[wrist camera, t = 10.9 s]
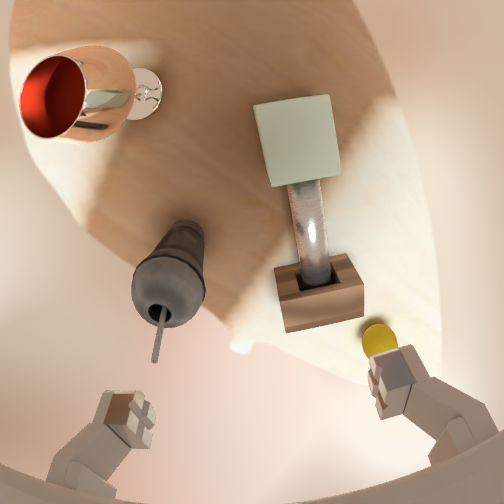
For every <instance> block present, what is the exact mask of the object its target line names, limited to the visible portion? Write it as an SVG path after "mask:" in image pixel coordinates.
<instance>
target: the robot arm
mask: <svg viewBox="0 0 504 504" xmlns="http://www.w3.org/2000/svg"><path fill="white" fill-rule="evenodd" d="M369 364H370V367H371V369H370V370H369V371H368V382H369V387H370V391H371V394H372V396H374V397H375V398H377V399H376V408H377V411H378V414H379V417H380V420H383V419H386V418H390V417H394V416H397V415H400V414H403V415H404V416H405V417H407V418H408V419H409V420H411V421H412V422H413V423H414V424H416V425H417V426H418V427H420V428H421V429H422V430H423V431H425V432H426V433H427V434H429V435H430V436H431V437H432V438H434V439H435V440H436V441H437V442H436V444H435V445H434V447H433V448H432V450H431V452H430V453H429V455H428V457H429V460H430V463H431V466H430V467H428V468H425V469H423V470H420V471H417V472H415V473H412V474H410V475H407V476H404V477H401V478H398V479H395V480H392V481H389V482H386V483H383V484H379V485H376V486H373V487H369V488H365V489H361V490H357V491H354V492H350V493H345V494H341V495H336V496H332V497H327V498H321V499H316V500H310V501H304V502H297V503H290V504H504V430H502V431H500V432H499V431H498V429H497V427H496V425H495V423H494V421H493V419H492V418H491V416H490V414H489V412H488V410H487V408H486V406H485V404H483V403H482V402H480V401H478V400H476V399H474V398H472V397H471V396H469V395H467V394H465V393H463V392H461V391H459V390H457V389H456V388H454V387H452V386H450V385H448V384H447V383H445V382H443V381H441V380H439V379H438V378H436V377H431V378H430V376H429V374H428V372H427V370H426V368H425V367H424V365H423V363H422V361H421V359H420V357H419V356H418V354H417V352H416V350H415V348H414V347H413V346H412V345H411V344H410V345H406V346H403V347H400V348H395V349H392V350H389V351H386V352H382V353H379V354H375V355H372V356H370V358H369ZM144 398H145V395H144V394H143V393H142V392H141V391H113V390H112V391H111V390H108V391H107V390H106V391H105V392H104V393H103V394H102V397H101V399H100V402H99V405H98V408H97V411H96V414H95V417H94V419H93V422H92V423H89V424H88V425H87V426H86V427H85V428H84V429H83V430H81V431H80V432H79V433H78V434H77V435H76V436H75V437H74V438H73V439H72V440H71V441H70V442H68V443H67V444H66V445H65V446H64V447H63V448H62V449H61V450H60V451H59V452H58V453H56V454H55V455H54V457H53V460H52V463H51V466H50V469H49V472H48V476H47V479H46V481H43V480H41V479H37V478H35V477H32V476H29V475H27V474H24V473H21V472H19V471H16V470H14V469H12V468H9V467H7V466H5V465H2V464H0V504H143V503H135V502H129V501H123V500H117V499H115V496H116V488H115V487H114V486H113V485H111V484H110V483H108V482H107V480H108V479H109V477H110V476H111V475H112V473H113V472H114V471H115V470H116V468H117V467H118V466H119V465H120V463H121V462H122V461H123V459H124V458H125V457H126V456H127V454H128V453H129V452H130V450H131V449H130V448H136V449H150V445H151V441H152V433H151V431H150V429H151V428H152V427H153V426H154V425H155V419H156V417H155V410H154V408H153V406H152V405H151V403H149V402H148V401H146V400H144Z"/></svg>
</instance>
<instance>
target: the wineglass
mask: <svg viewBox="0 0 504 504" xmlns="http://www.w3.org/2000/svg"><path fill="white" fill-rule="evenodd" d="M161 98H162V85H161V82H160V80H159V78H158V77H157V75H156V74H155V73H153V72H152V71H150V70H148V69H144V68H135V69H132V67H131V66H130V64H129V62H128V61H127V60H126V59H125V58H124V57H123V56H122V55H121V54H120V53H118V52H117V51H115V50H113V49H110V48H107V47H103V46H85V47H80V48H75V49H71V50H68V51H64V52H61V53H58V54H55V55H52V56H49V57H47V58H45V59H43V60H42V61H40V62H39V63H38V64H36V65H35V66H34V67H33V69H32V70H31V71H30V72H29V74H28V76H27V77H26V79H25V81H24V84H23V86H22V90H21V94H20V114H21V117H22V120H23V123H24V125H25V126H26V128H27V129H28V130H29V131H30V132H31V133H32V134H33V135H35V136H36V137H38V138H42V139H47V140H52V141H57V142H63V143H70V144H88V143H93V142H97V141H99V140H102V139H104V138H106V137H108V136H109V135H111V134H112V133H113V132H115V131H116V130H117V129H118V128H119V127H120V126H121V125H122V124H123V123H124V121H125V120H126V119H129V120H139V119H143V118H145V117H147V116H149V115H150V114H152V113H153V112H154V111H155V110H156V108H157V107H158V105H159V103H160V101H161Z"/></svg>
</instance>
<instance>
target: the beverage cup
mask: <svg viewBox="0 0 504 504" xmlns="http://www.w3.org/2000/svg"><path fill="white" fill-rule="evenodd" d="M203 257H204V234H203V231H202V229H201V228H200V227H199V226H198V225H197V224H196V223H194V222H192V221H187V220H186V221H180V222H178V223H176V224H175V225H174V226H173V227H172V228H171V229H170V230H169V231H168V232H167V233H166V235H165V236H164V237H163V239H162V240H161V241H160V243H159V244H158V245H157V246H156V248H155V249H154V250H153V252H152V253H151V254H150V255H149V256H148V257H147V258H146V259H144V260H143V261H142V262H141V263H140V264H139V265H138V266H137V267H136V270H135V272H134V275H133V281H132V289H131V290H132V292H131V293H132V294H131V295H132V300H133V302H134V305H135V308H136V310H137V311H138V313H139V314H140V315H141V317H142V318H143V319H145V320H146V321H147V322H149V323H150V324H153V325H155V326H158V329H157V333H156V339H155V344H154V348H153V354H152V359H151V362H152V363H157V361H158V356H159V350H160V345H161V339H162V334H163V328H173V327H177V326H180V325H183V324H184V323H186V322H187V321H189V320H190V319H191V318H192V317H193V316H194V315H195V314H196V312H197V311H198V309H199V307H200V306H201V303H202V302H203V300H204V297H205V291H206V289H205V284H204V279H203Z"/></svg>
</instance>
